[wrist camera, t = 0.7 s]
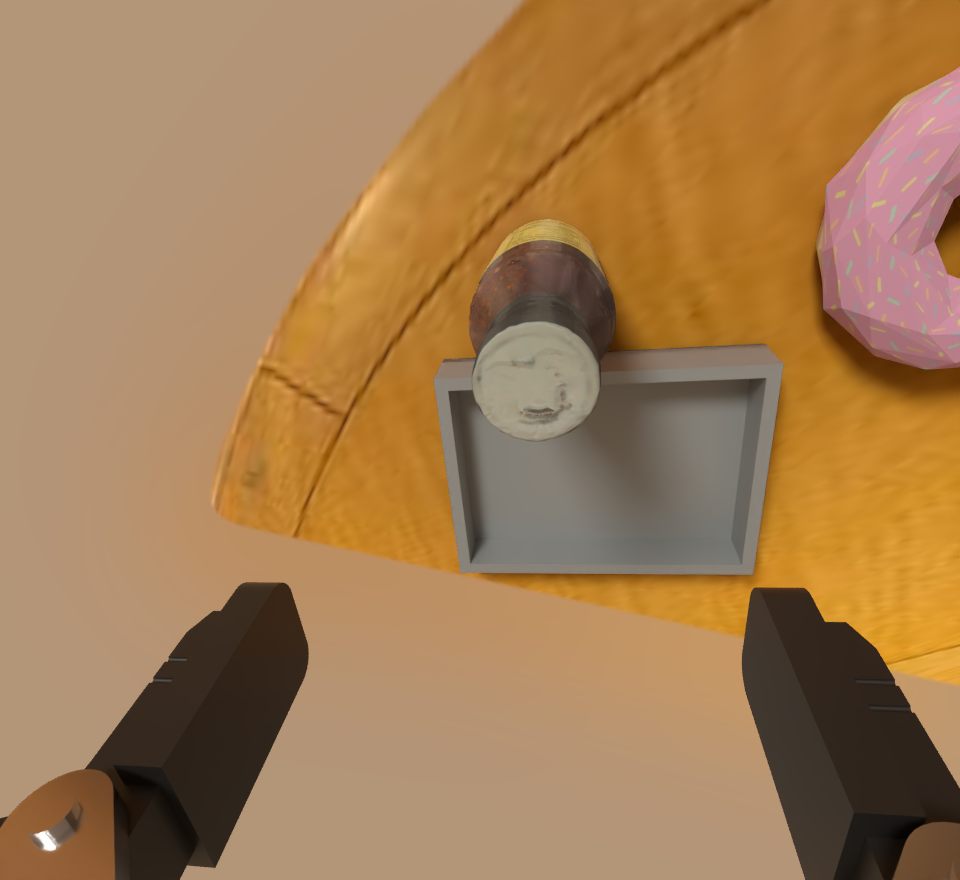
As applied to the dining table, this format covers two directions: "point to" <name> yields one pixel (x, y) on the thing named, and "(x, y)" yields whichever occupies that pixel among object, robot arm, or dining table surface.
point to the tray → (620, 469)
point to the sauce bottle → (540, 332)
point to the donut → (897, 233)
